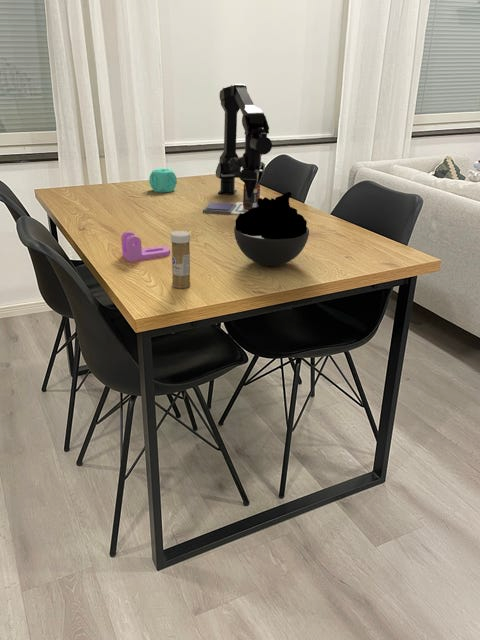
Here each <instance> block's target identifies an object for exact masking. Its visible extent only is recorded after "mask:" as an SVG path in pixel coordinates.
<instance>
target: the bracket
mask: <svg viewBox="0 0 480 640" xmlns="http://www.w3.org/2000/svg"><path fill="white" fill-rule="evenodd" d="M120 237H121V252H122V257H123V258H125V260H127V261H128V262H138V261H143V260H148V259H150V258H151V259H156V258H157V257H158V258H162V257H163V256H164V257H167V256H170V255H171V248H170V247H169V246H162V245H158V246H151V247H144V248H142V240H141V238H140V237H138V236H137V235H136V234H135V233H133V232H132V231H130V230H129V231H127V230H126V231H125V232H123V233H122V234H121V236H120Z"/></svg>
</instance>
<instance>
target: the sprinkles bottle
mask: <svg viewBox="0 0 480 640" xmlns="http://www.w3.org/2000/svg"><path fill="white" fill-rule="evenodd" d="M170 241H171V254H172V255H171V275H172V283H171V285H172V287H173V288H175V289H187V288H189V287H190V286H191V279H190V278H191V251H190V243H191V234H190V231H189V232H188V231H187V230H175V231H173V232H171V233H170Z"/></svg>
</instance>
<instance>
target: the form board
mask: <svg viewBox="0 0 480 640" xmlns="http://www.w3.org/2000/svg"><path fill="white" fill-rule="evenodd" d="M235 204H237V206H236V207H235V208H234V210H233V211H232V212H231V214H230V215H236V216H237V215H238V216H239V214H240V213H241V214H243V213H245V212H247V211H248V210H247V209H244V208H243V201H242V202H237V201H236V203H235Z"/></svg>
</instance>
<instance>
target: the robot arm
mask: <svg viewBox="0 0 480 640" xmlns="http://www.w3.org/2000/svg"><path fill="white" fill-rule="evenodd" d="M218 96H219V101H220V106H221V108H222V109H223V111H224V127H223V128H224V133H223V135H224V136H223V137H224V138H223V152H222V153H221V155H220V156H219V160H218V161H219V162H218V164H217V167H216V169H215V177H216V178H217V179H220V189H219V191H218V192H217V193H218V195H219V194H220V195H221V194H222V195H235V194H236V192H238V191H237V189H235V188H236V187H235V183H236V178H237V179H240V181H242V182H243V183H244V184H245V186H246V190H247V195H248V197H249V198H251V196H252V194H253V191H254V189H255V186H256V184H257V181H258V183H259V184H260V183H261V182H260V181H261V179H262V178H263V175H264V173H265V170H266V164H265V163H264V162H263V161H262V156H263V155H267V154H269V153H270V152H271V151H272V149H273V143H272V140H271V139H270V138H269V137H268V135H269V133H270V126H269V124H268V121H267V120H268V119H267V118H266V117H267V116H266V115H265V113H264V112H263V110H262V108H260V107H257V106H256V105H255V104H254V101H253V100H252V98H251V96H250V94H249V92H248V89H247V85H246V84H244V83H234V84H231V85H229V86H227V87H223V88H222V89H221V90H220V91H219V95H218ZM239 111H240V112H241V114H242V118H241V124H242V127H243V129H244V153H242V156H239V155H238V153H237V129H238V128H237V127H238V126H237V125H238V112H239Z"/></svg>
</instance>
